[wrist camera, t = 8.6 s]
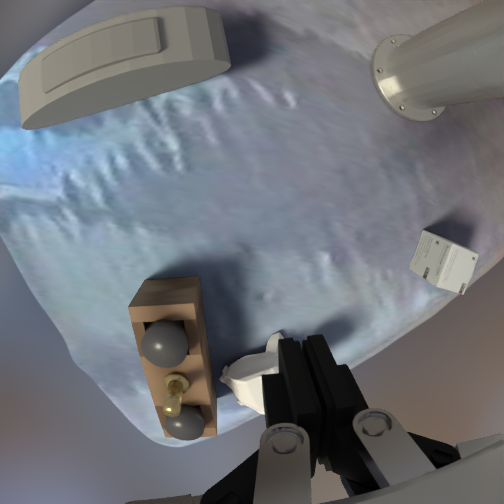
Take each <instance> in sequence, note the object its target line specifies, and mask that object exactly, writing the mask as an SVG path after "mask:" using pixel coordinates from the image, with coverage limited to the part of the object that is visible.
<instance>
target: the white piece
mask: <svg viewBox="0 0 504 504" xmlns="http://www.w3.org/2000/svg"><path fill="white" fill-rule="evenodd" d="M278 339H284V337H283V336H282V335H281V333H280V332H278V333H275V334H272V336H271V337H270V338H269V340H268V343H267V346H266V352H264V353H258V354H252V355H247V356H244V357H242V358H240V359H238V360H236V362H234V363H232V365H230V366H229V368H228V366H225V367H224V369H223V370H222V373H223V375H222V376H221V377H220V378H219V379H220V381H221V382H222V383H225V384H227V385H228V386H229V387H230V388H231V389H232V390H233V392H234V394H235V396H236V397H237V398H238V401H237V402H238V403H239V404H240V405H243V404H244V405H246V406H248V407H250V408H252V409H255V410H256V411H257V412H258V413H260V414H265V412H264V404H263V393H262V375H264V374H274V373H279V365H278Z"/></svg>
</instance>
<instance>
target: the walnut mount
mask: <svg viewBox="0 0 504 504" xmlns="http://www.w3.org/2000/svg"><path fill="white" fill-rule="evenodd" d="M128 309H129V314H130V318H131V322H132V326H133V331H134V335H135V339H136V343H137V346H138V350H139V354H140V358H141V361H142V365H143V369H144V372H145V375H146V379H147V382H148V386H149V389H150V392H151V395H152V398H153V402H154V405H155V408H156V411H157V414H158V417H159V420H160V423H161V425H162V428H163V431H164V434H165V437H173V436H171V435H170V434H169V433H168V432H167V431H166V429H165V421H166V414H164V412H163V407H164V402H165V397H166V392H167V391H166V390H165V389H164V387H163V380H164V377H165V376H166V375H167V374H169V373H173V372H176V373H181V374H183V375H184V376H186V377H187V379H188V380H189V389H188V391H187V392H186V393H184V394H183V395H182V402H181V404H185V405H200V408H199V410H200V411H201V412H202V413H203V415H204V433H203V434H202V436H201V437H211V436H217V397H216V391H215V385H214V379H213V373H212V366H211V360H210V353H209V347H208V340H207V333H206V326H205V318H204V311H203V303H202V296H201V288H200V279H199V276H193V277H180V278H166V279H152V280H144V282H143V284H142V285H141V287H140V288H139V290H138V292H137V293H136V295H135V296H134V298H133V300H132V301H131V303H130V305H129V306H128ZM161 319H166V320H172V321H174V320H184V325H185V331H186V332H187V334H188V338H189V344H188V350H187V356H186V358H185V360H184V361H183V362H182V363H181V364H180V365H178V366H176V367H172V368H162V367H159V366H156V365H154V364H152V363H151V362H149V361H148V360H147V359H146V358H145V356H144V355H143V353H142V350H141V341H142V338H143V336H144V334H145V331H146V329H147V327H148V326H149V325H150V324H151V323H152V322H154V321H157V320H161Z"/></svg>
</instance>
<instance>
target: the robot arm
mask: <svg viewBox="0 0 504 504" xmlns="http://www.w3.org/2000/svg"><path fill="white" fill-rule="evenodd" d="M371 67H372V75H373V79H374V83H375V85H376V88H377V90H378V92H379V94H380V95H381V97H382V99H383V100H384V101H385V102H386V104H387V105H388V106H389V107H390V108H391V109H392V110H393V111H394V112H396V113H397V114H399V115H400V116H402V117H404V118H406V119H408V120H411V121H416V122H424V121H430V120H432V119H435V118H437V117H438V116H439V115H441V113H442V112H443V111H444V109H445V107H446V106H450V105H456V104H462V103H469V102H476V101H483V100H491V99H500V98H504V0H484V1H482V2H480V3H478V4H476V5H474V6H472V7H470V8H468V9H466V10H464V11H462V12H460V13H458V14H456V15H454V16H452V17H450V18H448V19H446V20H444V21H442V22H440V23H438V24H436V25H434V26H432V27H430V28H428V29H427V30H425V31H423V32H421V33H419V34H417V35H415V36H414V37H410V36H406V35H394V36H391V37H388V38H387V39H385V40H383V41H382V42H381V43H380V44H379V45H378V46H377V48H376V49H375V51H374V54H373V57H372V64H371ZM378 72H379V73H378ZM278 365H279V373H274V374H264V375H262V393H263V404H264V412H265V420H266V427H267V429H266V430H265V431H264V432H263V434H262V435H261V438H260V445H259V449H258V450H257V451H256V452H255V453H253V454H252V455H251V456H250V457H249V458H247V459H246V460H245V461H244V462H243V463H241V464H240V465H239V466H238V467H237V468H235V469H234V470H233V471H232V472H230V473H229V474H228V475H227V476H225V477H224V478H223V479H222V480H220V481H219V482H218V483H217V484H215V485H214V486H212V487H211V488H210V489H208V490H207V491H206V492H205V494H203V495H199V496H191V494H188V495H182V496H175V497H167V498H158V499H149V500H136V501H130V502H127V503H125V504H312V503H311V478H312V477H313V476H314V473H315V466H316V460H317V459H318V462H319V464H320V465H321V464H324V465H325V469H326V471H331V470H332V471H333V472H334V473H336V474H338V475H340V479H341V482H342V484H343V486H344V488H345V490H346V492H347V494H348V496H349V498H345V499H340V500H335V501H330V502H325V503H320V504H504V434H495V435H491V436H487V437H483V438H479V439H475V440H470V441H466V442H461V443H457V444H456V446H454V447H453V446H451V445H449V444H446V443H443V442H439V441H436V440H432V439H429V438H426V437H423V436H420V435H416V434H413V433H410V432H407V431H406V430H405V429H404V428H403V427H402V425H401V424H400V423H399V422H398V421H397V419H396V418H395V417H394V416H393V415H392V414H391V413H390V412H388V411H386V410H383V409H379V408H370V409H369V407H368V405H367V403H366V401H365V399H364V397H363V395H362V393H361V391H360V389H359V387H358V385H357V383H356V381H355V379H354V377H353V375H352V373H351V371H350V369H349V367H348V366H347V365H346V364H343V365H337V364H336V362H335V360H334V358H333V355H332V353H331V351H330V349H329V347H328V345H327V343H326V341H325V338H324V336H323V335H322V334H320V335H312V336H308V337H307V340H303V341H302V348H301V346H300V343H299V341H294V339H293V338H285V339H278Z"/></svg>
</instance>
